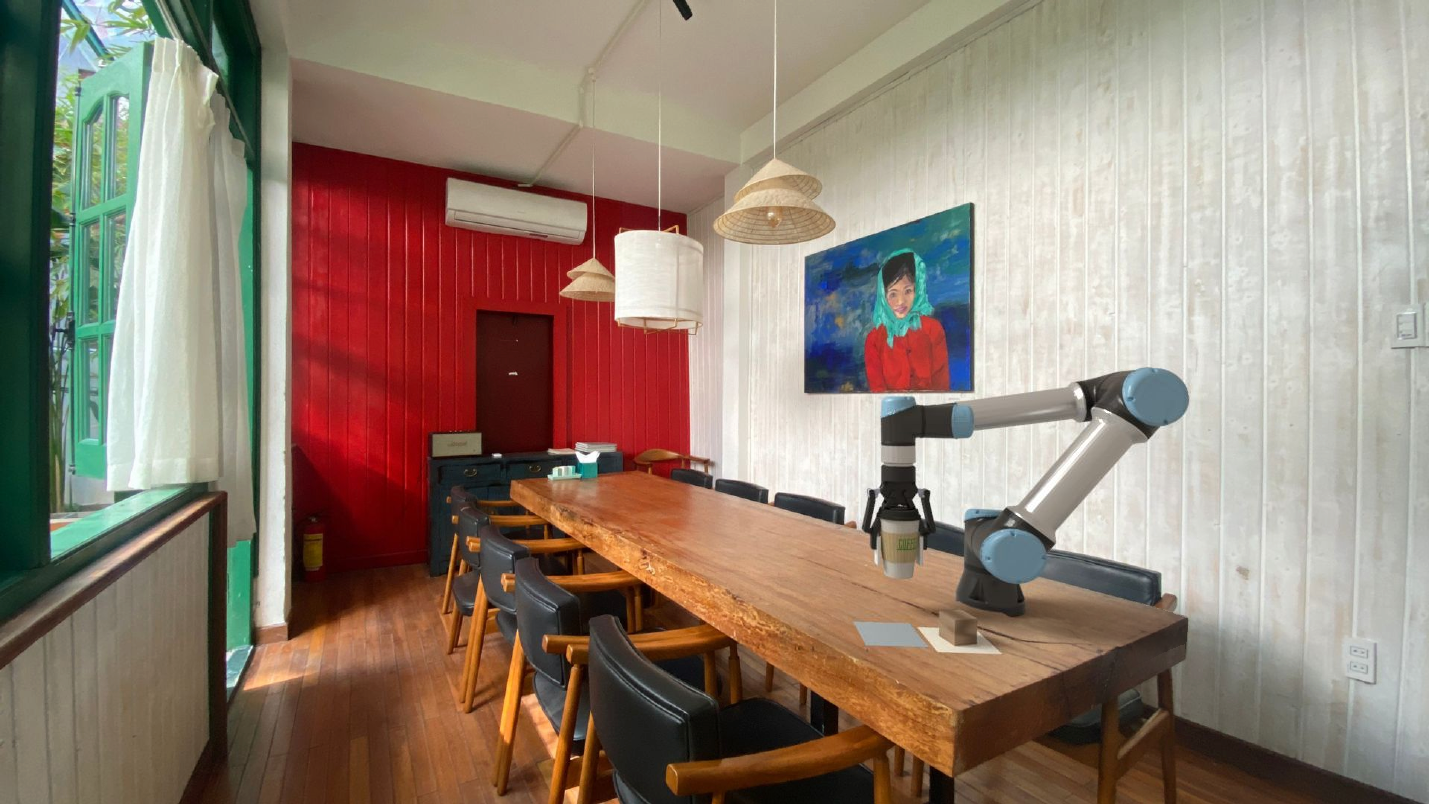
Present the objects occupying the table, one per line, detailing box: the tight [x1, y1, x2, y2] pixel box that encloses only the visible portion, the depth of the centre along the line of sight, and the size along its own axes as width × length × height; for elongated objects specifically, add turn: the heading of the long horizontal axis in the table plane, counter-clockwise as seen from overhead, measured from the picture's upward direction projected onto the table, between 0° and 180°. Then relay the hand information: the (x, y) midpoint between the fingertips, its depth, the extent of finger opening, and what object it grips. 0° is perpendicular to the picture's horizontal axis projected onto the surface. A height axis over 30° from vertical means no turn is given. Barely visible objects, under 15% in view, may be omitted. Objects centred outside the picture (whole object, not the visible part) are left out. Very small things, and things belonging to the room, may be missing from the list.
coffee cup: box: [875, 505, 922, 580], centre depth 129 cm, size 10×10×15 cm
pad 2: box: [917, 626, 1003, 655], centre depth 113 cm, size 12×12×1 cm
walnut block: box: [938, 609, 978, 646], centre depth 113 cm, size 5×5×5 cm
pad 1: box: [853, 621, 930, 651], centre depth 116 cm, size 12×12×1 cm
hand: (898, 564), depth 129 cm, fingers closed on coffee cup, 9 cm apart
